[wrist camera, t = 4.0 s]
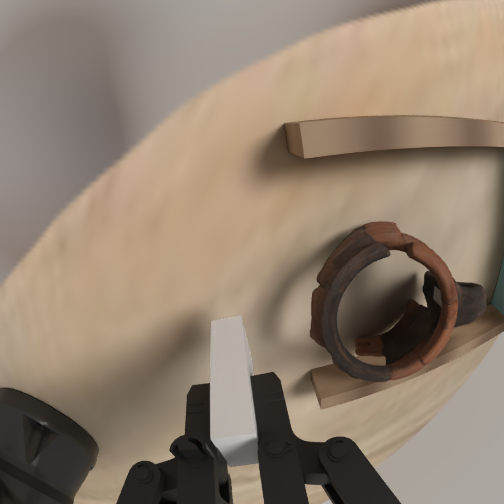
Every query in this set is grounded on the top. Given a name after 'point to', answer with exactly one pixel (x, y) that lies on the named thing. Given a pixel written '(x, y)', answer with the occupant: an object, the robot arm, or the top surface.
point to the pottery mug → (415, 317)
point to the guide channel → (382, 138)
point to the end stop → (499, 291)
